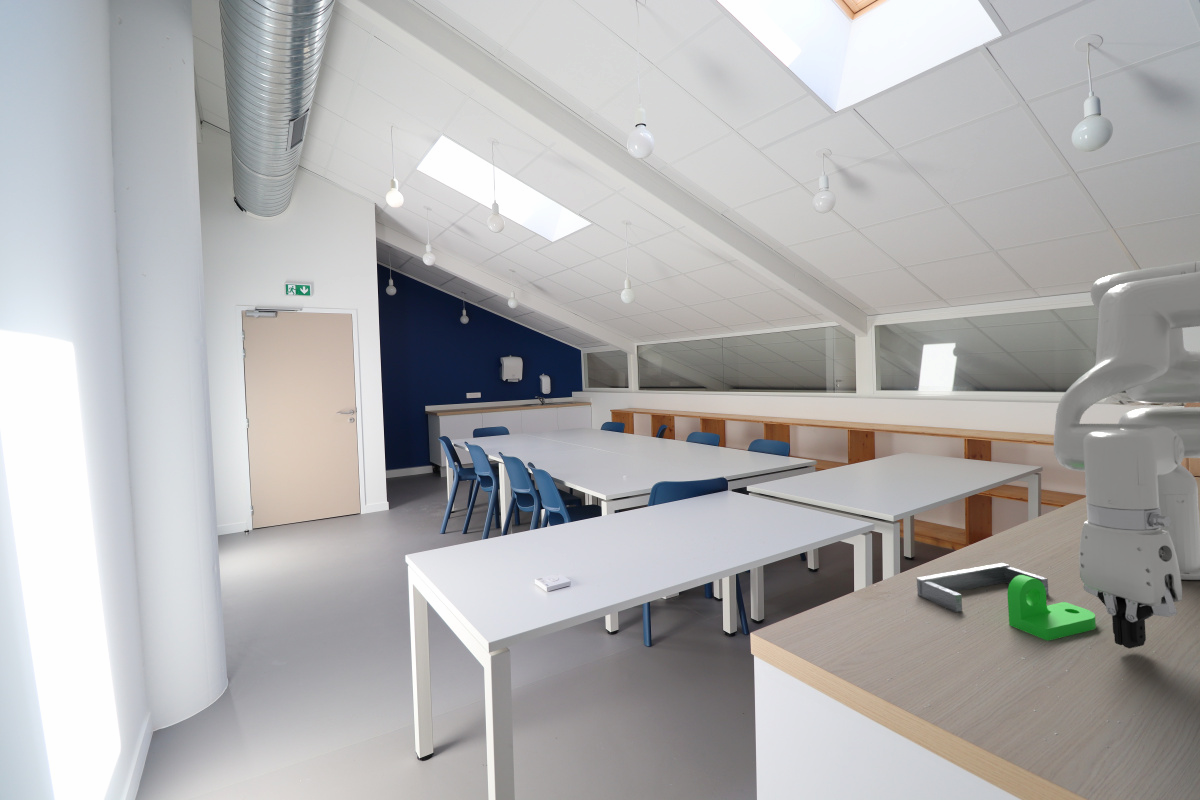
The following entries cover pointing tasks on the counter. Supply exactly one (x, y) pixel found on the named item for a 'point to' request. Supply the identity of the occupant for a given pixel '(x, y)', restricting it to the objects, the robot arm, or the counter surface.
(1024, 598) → the mechanical part
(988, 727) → the counter surface
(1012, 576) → the steel bracket
